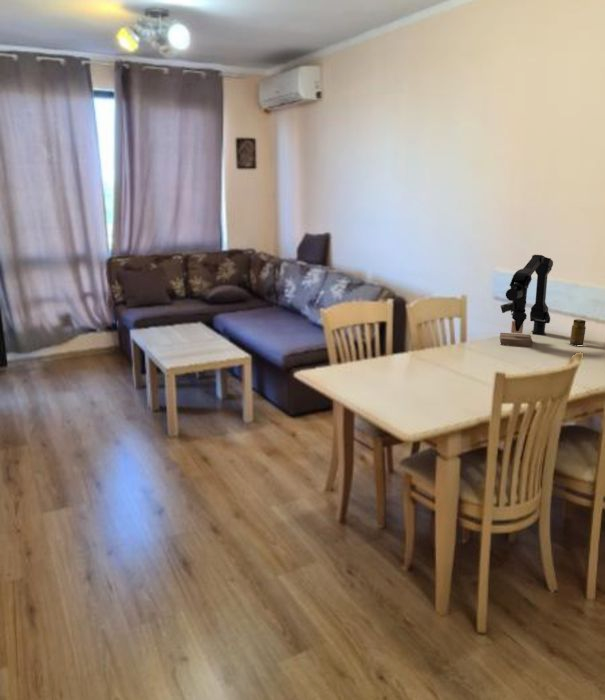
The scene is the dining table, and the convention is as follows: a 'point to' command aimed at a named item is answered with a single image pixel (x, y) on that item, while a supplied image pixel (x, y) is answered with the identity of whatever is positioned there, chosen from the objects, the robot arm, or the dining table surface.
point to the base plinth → (515, 339)
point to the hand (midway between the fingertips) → (516, 329)
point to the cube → (513, 329)
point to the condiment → (578, 332)
